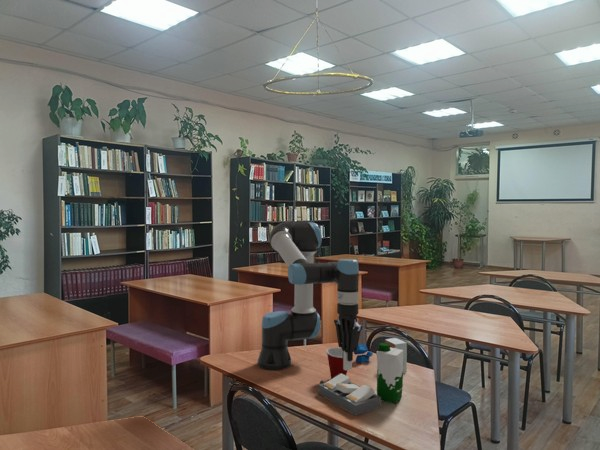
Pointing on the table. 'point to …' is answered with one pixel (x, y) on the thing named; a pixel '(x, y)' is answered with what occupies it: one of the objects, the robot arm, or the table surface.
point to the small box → (402, 346)
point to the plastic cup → (335, 361)
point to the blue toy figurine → (362, 350)
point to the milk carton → (389, 373)
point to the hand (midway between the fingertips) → (347, 369)
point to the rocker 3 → (360, 394)
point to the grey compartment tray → (346, 404)
